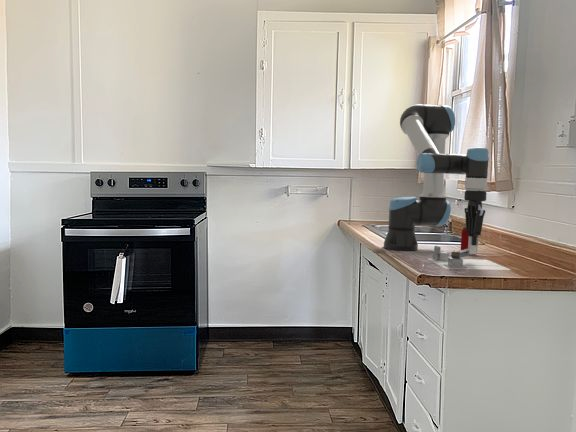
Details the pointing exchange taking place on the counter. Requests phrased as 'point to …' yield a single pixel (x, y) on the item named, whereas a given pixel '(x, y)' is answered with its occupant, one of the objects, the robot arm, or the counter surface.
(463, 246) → the beverage can
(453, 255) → the latch bar
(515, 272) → the counter surface
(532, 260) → the counter surface
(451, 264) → the grey latch pivot mount
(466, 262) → the door board
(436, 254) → the keeper
